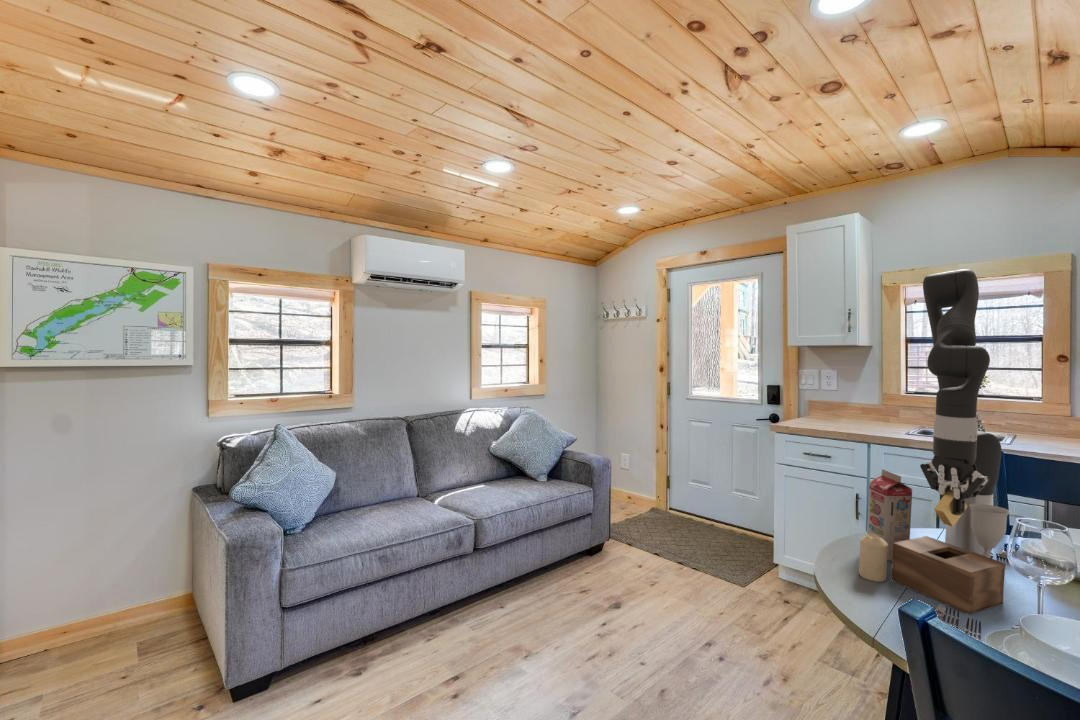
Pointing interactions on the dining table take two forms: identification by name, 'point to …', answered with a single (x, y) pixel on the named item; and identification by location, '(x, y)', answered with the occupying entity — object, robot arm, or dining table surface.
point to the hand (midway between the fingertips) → (951, 512)
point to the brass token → (947, 509)
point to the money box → (949, 574)
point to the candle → (873, 558)
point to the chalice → (988, 525)
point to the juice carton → (889, 509)
